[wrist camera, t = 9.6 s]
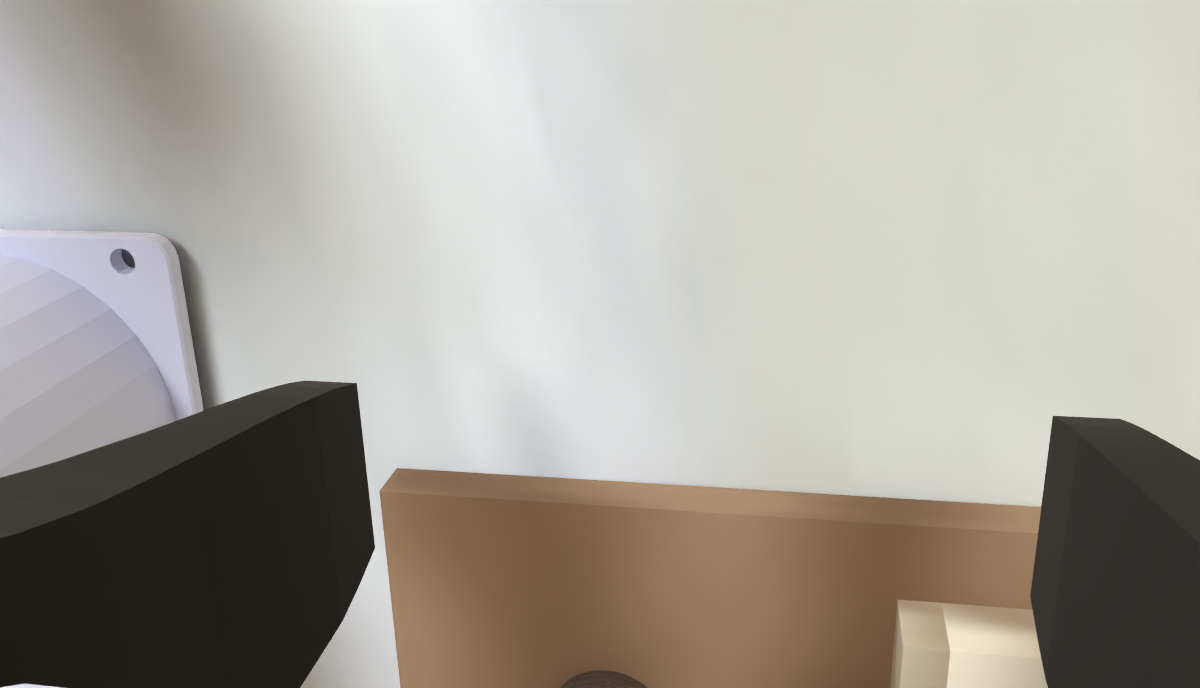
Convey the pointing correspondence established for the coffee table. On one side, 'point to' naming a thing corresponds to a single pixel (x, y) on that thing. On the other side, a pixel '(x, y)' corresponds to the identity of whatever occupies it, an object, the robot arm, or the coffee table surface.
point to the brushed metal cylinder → (602, 680)
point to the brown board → (703, 586)
